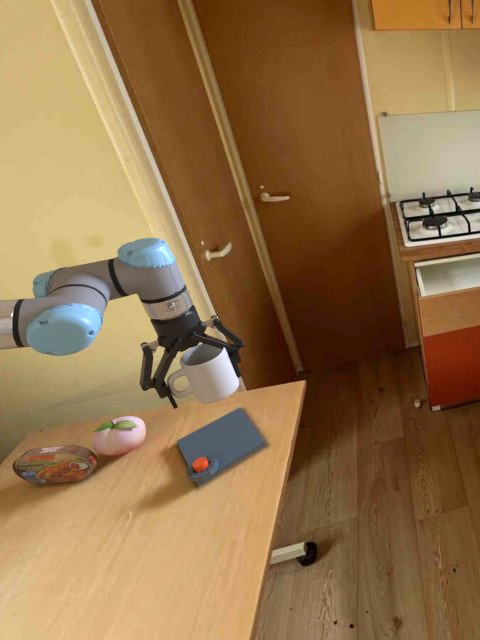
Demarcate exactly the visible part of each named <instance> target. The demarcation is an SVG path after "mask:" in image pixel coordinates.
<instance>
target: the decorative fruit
mask: <svg viewBox="0 0 480 640" xmlns="http://www.w3.org/2000/svg"><path fill="white" fill-rule="evenodd" d="M92 432H93V433H95V434H94V436H93V439H92V447H93V450H94V451H95V452H96V453H98V454H101V455H105V456H106V455H107V456H119V455H122V454H129V453H132V451H135V450H136V449H137V448H139V447H140V446H141V445H142V444H143V442H144V441H145V439H146V436H147V427H146V424H145V422H144V420H143V419H141V418H140V417H137V416H133V415H125V416H120V417H116V418H114V419H112V420H110V421H106V422H103V423H101V424H99V425H98V426H96V427H95V428H94V429H93V431H92Z"/></svg>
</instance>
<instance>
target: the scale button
mask: <svg viewBox="0 0 480 640" xmlns="http://www.w3.org/2000/svg"><path fill="white" fill-rule="evenodd" d="M192 466H193V468H194V470H195V472H198V473H199V472H202V471H204V470H206V469H207V468H208V466H209V463H208V461H207V459H206V458H205V457H200V458H198V459H196V460H195V461H194V462H193V464H192Z"/></svg>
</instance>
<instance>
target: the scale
mask: <svg viewBox="0 0 480 640" xmlns="http://www.w3.org/2000/svg"><path fill="white" fill-rule="evenodd" d="M176 443H177V445H178V448H179V450H180V452H181V454H182V456H183V458H184V460H185V463H186V464H187V469H186V472H185V473H186V476H187V478H188V480H189V481H190V482H192V483H196V485H197V487H201V486H202V485H204V484H205V483H207V482H208V481H211V480H212V479H214V478H215V477H217V476H218V475H220V474H221V473H223V472H225V471H227V470H228V469H230V468H231V467H233V466H234V465H236V464H238V463H240V462H241V461H242V460H244V459H246V458H248V457H249V456H251V455H253V454H254V453H256V452H258V451H260V450H261V449H262V448H264V447H266V446H267V445H266V443H265V440H264V439H263V438H262V436H261V435H260V434H259V432H258V430H257V429H256V428H255V427H254V425H253V423H252V422H251V421H250V419H249V417H248V415H246V413H245V412H244V410H243V409H242V408H241V406H240V407H238V408H236V409H233V410H232V411H230V412H228V413H226V414H224V415H223V416H221V417H218V418H217V419H214V421H212V422H209V423H208V424H205V425H203V426H202V427H200V428H198V429H196V430H193V432H190V433H188V434H186V435H185V436H182V437H181V438H179V439H177V440H176ZM200 457H205V458H206V459H207V461H208V463H209V466H208V468H207V469H206V470H204V471H202V472H199V473H198V472H195V470H194V468H193V466H192V464H193V462H194V461H195V460H196V459H198V458H200Z"/></svg>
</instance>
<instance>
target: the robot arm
mask: <svg viewBox="0 0 480 640" xmlns="http://www.w3.org/2000/svg"><path fill="white" fill-rule="evenodd" d="M116 252H117V256H116V257H114V258H113V257H112V258H109V259H103V260H97V261H93V262H87V263H83V264H76V265H71V266H63V267H58V268H56V269H53V270H50V271H46V272H42V273H39V274H37V275H35V277H34V278H33V280H32V285H33V286H32V293H33V296H34V297H30V298H29V297H28V298H15V299H13V298H12V299H0V351H3V350H11V349H20V348H21V349H22V348H31V349H32V350H34V351H35V352H37V353H38V354H39V353H40V354H42V355H48V356H53V357H64V356H65V357H66V356H70V355H71V356H72V355H74V354H77V353H79V352H81V351H83V350H85V349H87V348H88V347H89V346H90V345H92V343H93V342H94V341H95V339H96V338H97V336H98V333H100V330H101V329H102V326H103V324H104V316H105V313H106V309H107V307H108V303H109V302H110V301H113V300H118V299H122V298H125V297H130V296H133V295H136V296H137V297H138V298H139V302H140V303H141V305H142V307H143V309H144V311H145V313H146V315H147V317H148V318H149V319H150V323H151V325H152V327H153V329H154V331H155V334H156V335H157V338H156V340H154V341H151V342H146V341H143V342H142V343H140V344H139V345H140V348H141V351H142V360H141V368H140V376H139V386H140V389H141V390H142V391H143V392H146V391H149V390H150V389H154V390H155V391H156V393H157V395H158V397H159V398H160V399H161V400H163V399H165V398H168V400H169V402H170V404H171V406H172V408H173V410H175V409H178V408H179V406H178V404H177V402H176V400H175V397H174V395H173V394H172V393H171V392H170V390H169V388H168V385H167V381H165V379H166V377H167V374H168V373H169V369H170V368H171V365H172V363H173V361H174V359H175V358H176V357H177V354H178V353H184V352H186V351H188V350H189V349H191V348H193V347H195V346H197V345H200V344H206V345H207V344H208V345H211V346H214V347H217V348H219V349H222V350H223V348H225V349H226V351H227V353H228V355H229V358H230V360H231V363H232V365H233V368H234V370H235V372H236V375H237V377H238V379H239V378H241V377H242V373H241V371H240V368H239V366H238V364H240V363H242V358H241V356H240V349H241V348H244V347H245V346H246V342H245V341H244V340H243V339H242V338H241V337H240V336H238V335H237V334H236V333H235V332H233V331H232V330H231V329H229V328H228V327H227V326H226V325H224V324H223V323H222V321H221V319H220V318H219V317H218V316H217V315H216V314H213V315H211V316H210V318H209V319H207V320H205V321H202V320H201V318H200V315H199V312H198V310H197V308H196V305H195V304H194V301H193V299H192V296H191V295H190V291H189V289H188V288H187V284H186V282H185V280H184V277H183V274H182V273H181V270H180V267H179V265H178V262H177V259H176V257H175V256H174V254H173V252H172V250H171V248H170V246H169V245H168V242H167V241H165V240H163V239H162V238H160V237H159V238H158V237H144V238H138V239H135V240H133V241H129V242H126V243H123V244H122V245H121V246H119V247H118V248H117V250H116ZM208 327H209V328H211V329H216V330H218V332H219V333H221V334H222V335H223V336H224V337H226V338H227V339H229V340H230V341H232V342H233V343H230V342H228V341H225V340H222V339H220V338H217V337H215V336H212V335H209V334H208V333H206V331H207V328H208ZM159 347H161V348H164V350H163V354H162V356H161V359H160V361H159V362H158V365H157V368H156V370H155V371H154V373H153V365H154V354H155V353H156V352H157V349H158V348H159ZM152 373H153V374H152ZM152 375H153V376H152Z"/></svg>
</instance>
